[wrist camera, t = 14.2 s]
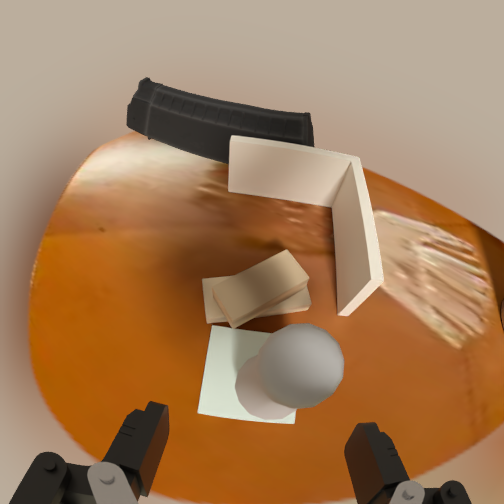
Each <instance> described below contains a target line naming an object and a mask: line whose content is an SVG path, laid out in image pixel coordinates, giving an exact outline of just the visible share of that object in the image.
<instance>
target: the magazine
mask: <svg viewBox="0 0 504 504" xmlns="http://www.w3.org/2000/svg"><path fill="white" fill-rule="evenodd" d="M127 126H128V127H129V128H131V129H133V130H135V131H137V132H139V133H141V134H143V135H145V136H148V139H149V140H150V139H151V138H153V139H155V140H158V141H160V142H163V143H166V144H168V145H171V146H173V147H176V148H178V149H181V150H184V151H187V152H190V153H192V154H196V155H199V156H202V157H205V158H209V159H213V160H216V161H220V162H223V163H227V164H229V151H230V139H231V136H232V135H234V136H243V137H251V138H259V139H266V140H273V141H280V142H286V143H292V144H298V145H304V146H309V147H314V136H313V126H312V122H311V116H310V113H294V112H284V111H276V110H270V109H264V108H259V107H255V106H250V105H245V104H239V103H233V102H228V101H222V100H218V99H213V98H209V97H205V96H200V95H196V94H192V93H188V92H185V91H181V90H177V89H174V88H171V87H168V86H164V85H163V84H160V83H155V82H152V81H150V78H147V77H146V78H144V79H143V80H141V81H140V82H139V86H138V88H137V91H136V93H135V94H134V95H133V98H132V101H131V103H130V104H129V105H128V110H127Z"/></svg>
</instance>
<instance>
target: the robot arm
mask: <svg viewBox="0 0 504 504" xmlns="http://www.w3.org/2000/svg"><path fill="white" fill-rule="evenodd" d="M501 317H502V323H503V328H504V300H503V302H502V306H501ZM168 435H169V413H168V405H164V404H160V403H156V402H152V401H150V402H149V403H148V405H147V407H146V409H145V411H141V410H138V409H135V410H134V411H133V412H131V413H130V414H129V415H127V417H126V419H125V420H124V422H123V424H122V426H121V428H120V430H119V433H117V435H116V437H115V439H114V441H113V442H112V444H111V446H110V448H109V450H108V452H107V454H106V456H105V457H104V459H103V460H102V461H101V462H98V463H95V464H94V465H92V466H82V465H76V464H71V463H66V462H65V461H64V459H63V458H62V457H61V456H59V455H58V454H56V453H53V452H44V453H40V454H39V455H38V456H37V457H36V458H35V459H34V461H33V463H32V464H31V466H30V468H29V469H28V471H27V473H26V474H25V476H24V478H23V479H22V481H21V483H20V484H19V486H18V488H17V490H16V492H15V493H14V495H13V497H12V499H11V501H10V503H9V504H138V499H139V497H140V495H142V496H145V497H148V495H149V492H150V489H151V486H152V483H153V480H154V477H155V474H156V471H157V468H158V465H159V463H160V460H161V457H162V454H163V451H164V448H165V445H166V443H167V440H168ZM344 454H345V459H346V462H347V466H348V469H349V473H350V477H351V481H352V484H353V488H354V492H355V496H356V499H357V503H358V504H471V501H470V499H469V497H468V494H467V493H466V490H465V488H464V486H463V485H462V484H461V483H460V482H457V481H448V482H446V483H444V484H443V485H442V486H441V487H440V488H423V487H422V486H421V485H420V484H419V483H417V482H415V481H410V479H409V477H408V475H407V472H406V470H405V468H404V466H403V463H402V461H401V459H400V457H399V456H398V452H397V450H396V449H395V446H394V444H393V442H392V439H391V438H390V437H389V436H388V435H387V434H386V433H385V432H380V431H379V429H378V426H377V424H376V423H375V422H370V423H358V424H357V425H356V427H355V429H354V431H353V432H352V434H351V436H350V438H349V440H348V441H347V443H346V445H345V450H344Z"/></svg>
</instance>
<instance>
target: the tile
mask: <svg viewBox="0 0 504 504" xmlns="http://www.w3.org/2000/svg"><path fill="white" fill-rule="evenodd" d="M270 334H272V333H265V332H257V331H249V330H241V329H232V328H227V327H221V326H214V325H212V329H211V334H210V340H209V346H208V352H207V358H206V364H205V370H204V376H203V382H202V388H201V395H200V401H199V407H198V413H200V414H206V415H212V416H218V417H225V418H232V419H240V420H249V421H259V422H271V423H288V424H294V423H295V413H296V411H295V412H293V413H291V414H290V415H288V416H286V417H284V418H283V419H273V420H264V419H262V418H259V417H256V416H253V415H251V414H249V413H248V412H247V411H246V409H245V408H244V407H243V406H242V405H241V404H240V403H239V400H238V397H237V394H236V390H235V383H236V378H237V374H238V371H239V370H240V368H241V367H242V366H243V365H244V363H245V362H246V361H247V360H248V359H249V358H251V357H254V356H256V355H258V353H259V349H260V348H261V347H262V345H263V344H264V342H265V341H266V340H267V338H268V337H269V336H270Z"/></svg>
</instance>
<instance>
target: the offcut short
mask: <svg viewBox="0 0 504 504" xmlns="http://www.w3.org/2000/svg"><path fill="white" fill-rule="evenodd" d="M309 278H310V277H309V276H308V275H307V274H306V272H305V271H304V270H303V269H302V267H301V266H300V265H299V264H298V262H297V261H296V260H295V259H294V258H293V256H292V255H291V254H290V253H289V251H288V250H287V249H286V250H284V251H282V252H280V253H278V254H276V255H274V256H272V257H270V258H269V259H267V260H265V261H263V262H261V263H259V264H257V265H254V266H252V267H250V268H248V269H246V270H244V271H242V272H240V273H238V274H236V275H234V276H232V277H230V278H228V279H226V280H224V281H222V282H220V283H218V284H216V285H214V286H212V292H213V298H214V300H215V301H216V303H217V305H218V306H219V308H220V310H221V311H222V313H223V315H224V316H225V318H226V319H227V321H228V323H229V324H230V326H231V327H232V329H234V328H236V327H238V326H240V325H242V324H244V323H245V322H247V321H249V320H251V319H253V318H254V317H256V316H258V315H260V314H262V313H263V312H265V311H267V310H269V309H270V308H272V307H274V306H276V305H277V304H279V303H281V302H283V301H284V300H286V299H288V298H290V297H291V296H293V295H295V294H296V293H298V292H300V291H301V290H303V289H304V288H305V286H306V284H307V282H308V280H309Z"/></svg>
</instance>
